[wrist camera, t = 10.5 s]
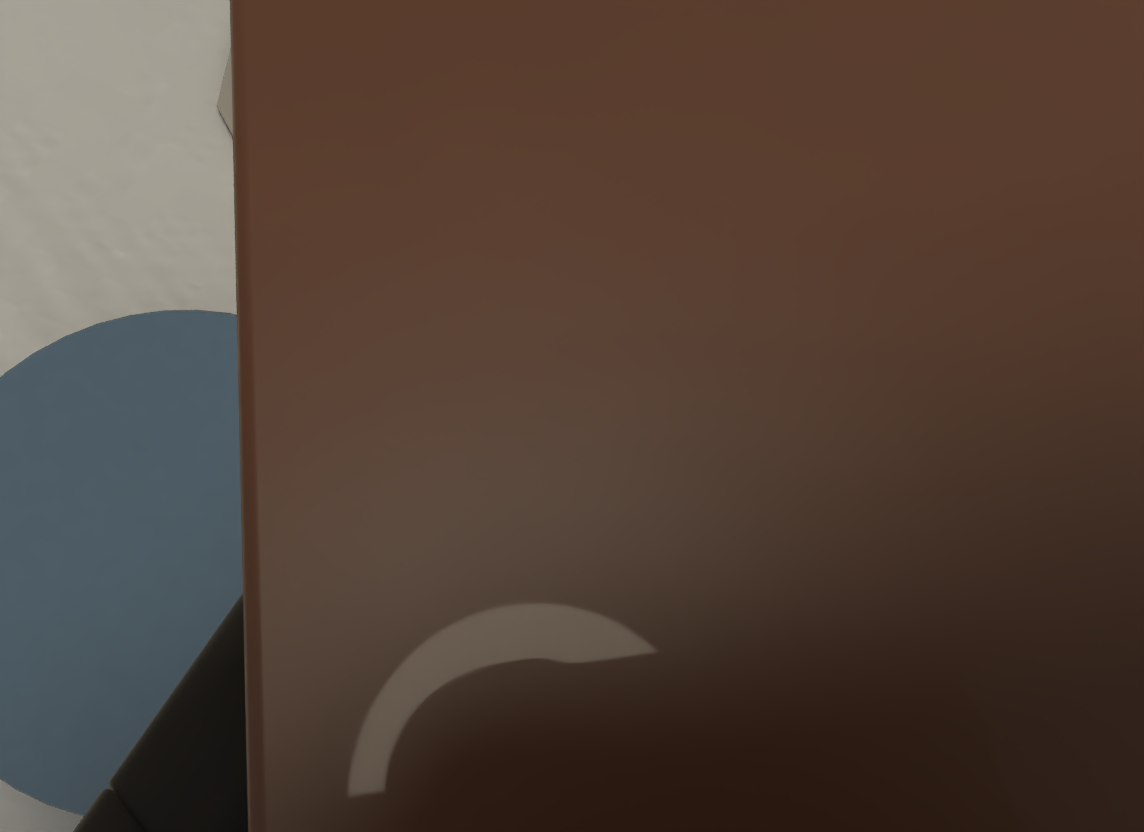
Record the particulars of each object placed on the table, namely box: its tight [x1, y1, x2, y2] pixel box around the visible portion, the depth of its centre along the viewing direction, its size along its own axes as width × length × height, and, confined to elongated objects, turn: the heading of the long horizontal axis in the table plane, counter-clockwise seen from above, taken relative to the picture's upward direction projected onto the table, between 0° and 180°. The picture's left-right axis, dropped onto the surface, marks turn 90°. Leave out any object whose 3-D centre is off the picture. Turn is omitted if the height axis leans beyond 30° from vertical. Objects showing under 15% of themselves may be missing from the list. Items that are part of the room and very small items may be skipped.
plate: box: [0, 310, 243, 816], centre depth 22 cm, size 11×11×1 cm
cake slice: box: [230, 0, 1144, 832], centre depth 9 cm, size 6×4×13 cm
